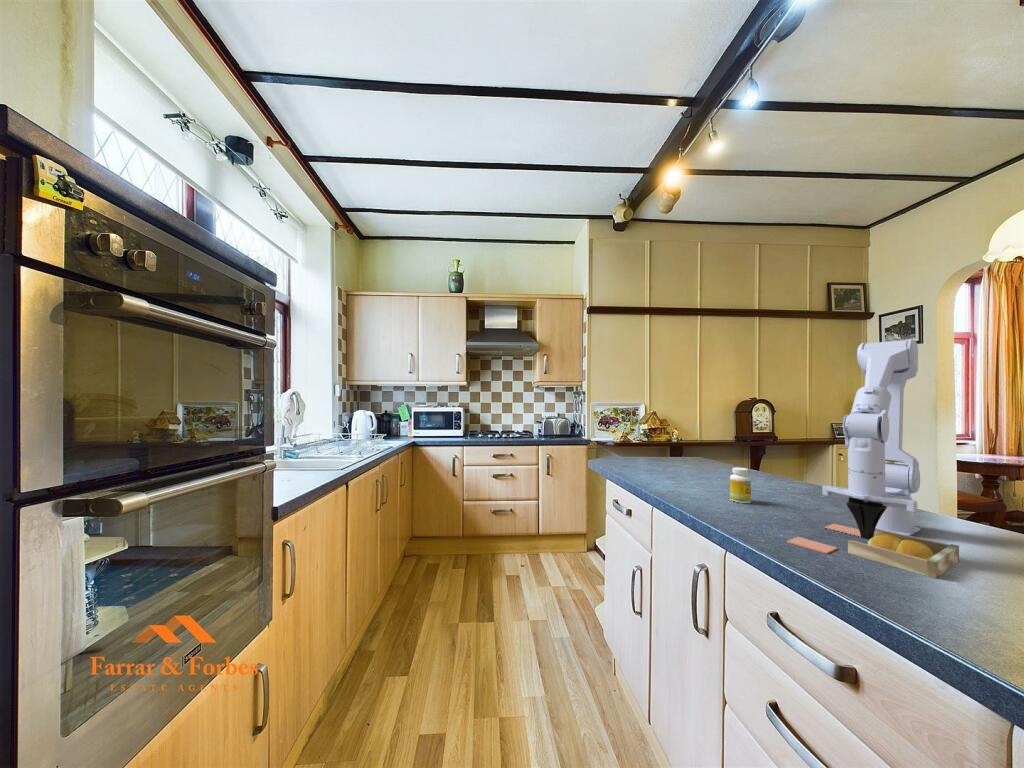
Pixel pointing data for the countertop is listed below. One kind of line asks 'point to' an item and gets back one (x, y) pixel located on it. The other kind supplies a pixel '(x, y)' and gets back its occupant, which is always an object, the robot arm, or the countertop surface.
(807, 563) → the countertop surface
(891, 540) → the bread roll
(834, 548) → the mats
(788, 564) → the countertop surface
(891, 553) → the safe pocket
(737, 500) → the supplement bottle
